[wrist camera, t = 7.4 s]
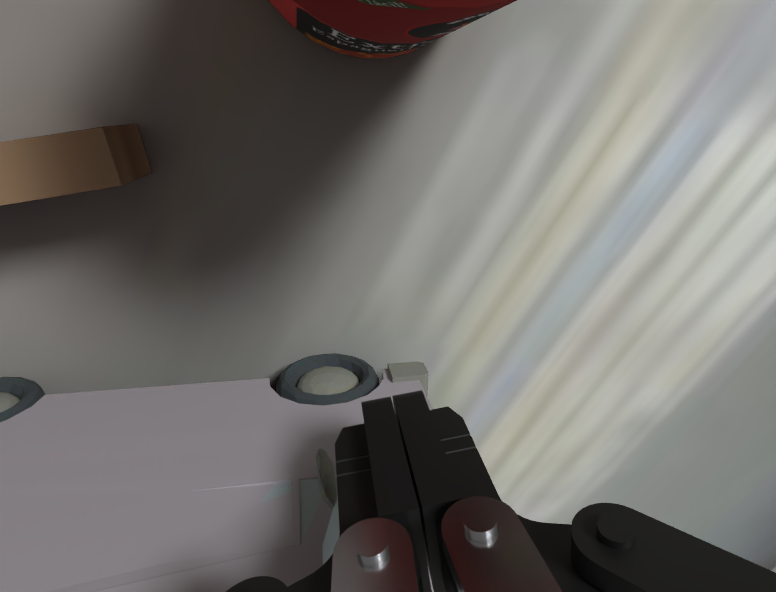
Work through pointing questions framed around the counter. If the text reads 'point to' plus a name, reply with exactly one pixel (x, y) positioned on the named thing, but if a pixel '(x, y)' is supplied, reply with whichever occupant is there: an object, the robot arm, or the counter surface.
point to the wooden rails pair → (71, 163)
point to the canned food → (381, 22)
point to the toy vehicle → (179, 478)
